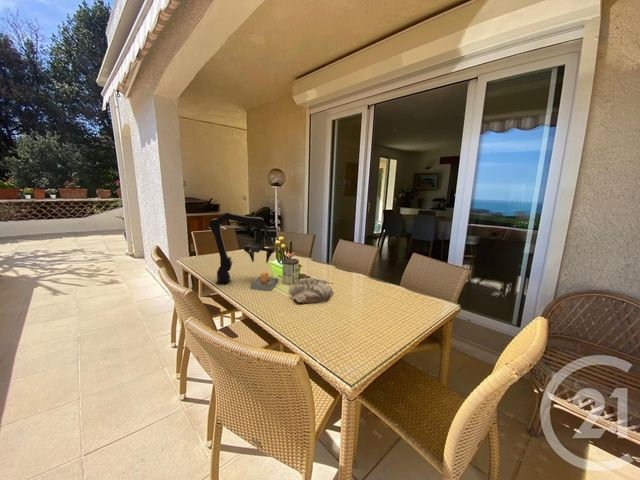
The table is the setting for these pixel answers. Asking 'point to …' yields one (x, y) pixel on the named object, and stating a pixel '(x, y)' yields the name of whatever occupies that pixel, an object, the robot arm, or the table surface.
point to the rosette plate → (264, 284)
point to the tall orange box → (264, 277)
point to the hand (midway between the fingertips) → (260, 262)
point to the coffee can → (290, 271)
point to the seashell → (310, 290)
